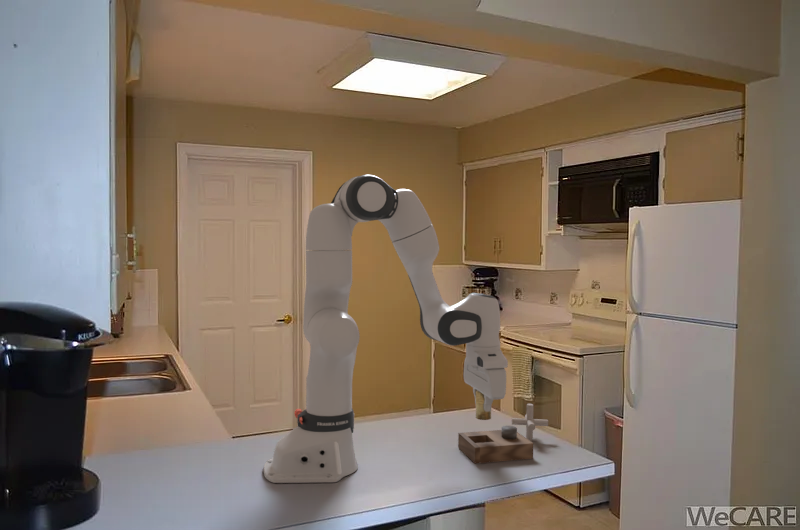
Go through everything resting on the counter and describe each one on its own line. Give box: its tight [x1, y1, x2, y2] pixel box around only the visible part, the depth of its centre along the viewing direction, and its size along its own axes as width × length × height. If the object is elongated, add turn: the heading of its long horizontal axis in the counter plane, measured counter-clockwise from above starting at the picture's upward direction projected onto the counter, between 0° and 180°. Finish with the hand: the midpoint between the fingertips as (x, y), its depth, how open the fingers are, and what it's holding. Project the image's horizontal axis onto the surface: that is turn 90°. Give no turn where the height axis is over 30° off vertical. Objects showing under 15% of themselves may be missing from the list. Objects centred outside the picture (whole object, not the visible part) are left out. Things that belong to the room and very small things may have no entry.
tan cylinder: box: [475, 390, 492, 421], centre depth 157 cm, size 4×4×7 cm
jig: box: [457, 425, 534, 465], centre depth 158 cm, size 16×12×6 cm
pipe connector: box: [511, 403, 549, 442], centre depth 170 cm, size 10×10×10 cm
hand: (483, 407), depth 157 cm, fingers closed on tan cylinder, 4 cm apart
